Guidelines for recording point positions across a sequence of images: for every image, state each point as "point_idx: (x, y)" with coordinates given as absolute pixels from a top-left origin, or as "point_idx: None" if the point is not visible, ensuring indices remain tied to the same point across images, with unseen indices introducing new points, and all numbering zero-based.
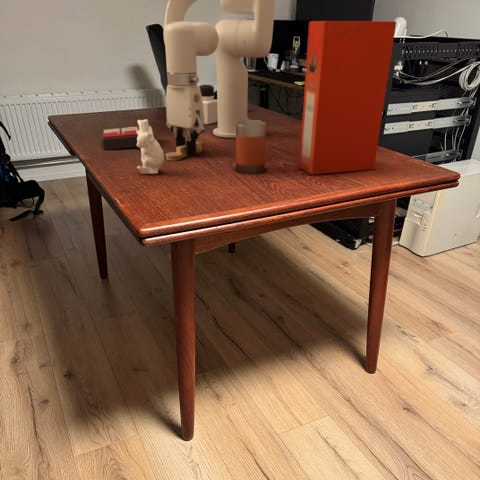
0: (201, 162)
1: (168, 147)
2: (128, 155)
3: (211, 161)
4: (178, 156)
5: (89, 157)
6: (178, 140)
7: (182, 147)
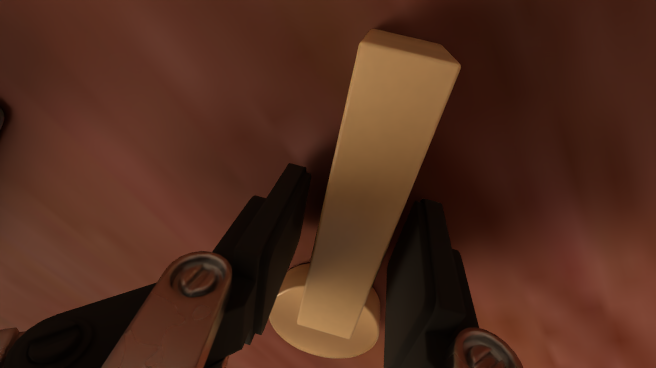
0: (552, 327)
1: (52, 47)
2: None
3: (638, 296)
4: (374, 342)
5: None
6: (265, 318)
7: (355, 325)
